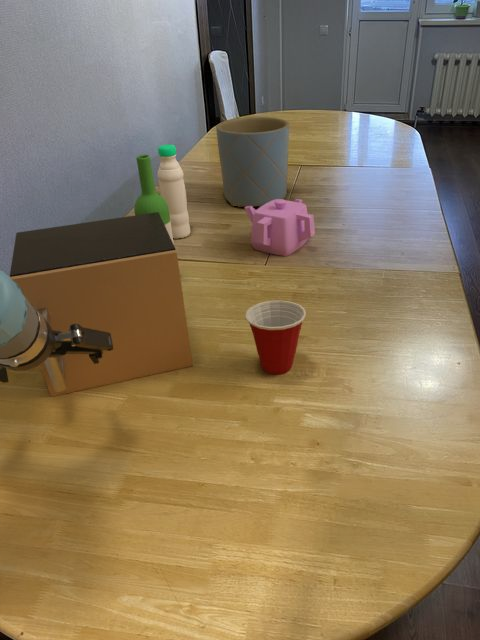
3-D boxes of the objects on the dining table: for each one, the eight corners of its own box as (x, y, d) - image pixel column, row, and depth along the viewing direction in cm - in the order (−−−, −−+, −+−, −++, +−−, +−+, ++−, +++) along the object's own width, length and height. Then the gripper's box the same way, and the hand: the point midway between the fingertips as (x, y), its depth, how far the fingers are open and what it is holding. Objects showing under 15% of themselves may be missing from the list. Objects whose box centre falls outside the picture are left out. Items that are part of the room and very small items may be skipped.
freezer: (191, 362, 100) (175, 248, 86) (51, 393, 94) (9, 275, 80) (174, 317, 114) (158, 211, 100) (51, 340, 108) (16, 232, 94)
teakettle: (258, 261, 136) (256, 215, 128) (244, 236, 149) (242, 193, 142) (320, 252, 139) (321, 207, 131) (300, 228, 152) (301, 187, 145)
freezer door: (200, 387, 94) (185, 269, 80) (50, 422, 87) (5, 301, 74) (191, 363, 100) (175, 249, 86) (51, 393, 94) (9, 276, 80)
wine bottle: (173, 271, 132) (155, 149, 115) (183, 283, 127) (166, 157, 109) (143, 278, 130) (120, 154, 112) (152, 291, 124) (129, 163, 107)
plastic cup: (296, 345, 104) (296, 293, 97) (312, 377, 95) (313, 323, 88) (243, 353, 102) (240, 300, 95) (254, 387, 93) (251, 332, 86)
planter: (291, 209, 165) (291, 131, 151) (220, 212, 165) (213, 134, 152) (287, 186, 184) (287, 115, 170) (223, 188, 184) (218, 118, 170)
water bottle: (195, 234, 151) (185, 145, 137) (176, 241, 147) (164, 150, 133) (180, 228, 155) (168, 141, 141) (161, 235, 151) (147, 146, 137)
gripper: (-99, 389, 57) (-32, 406, 78) (128, 343, 63) (135, 370, 83) (-109, 325, 58) (-40, 358, 79) (115, 285, 64) (126, 326, 85)
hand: (50, 364), depth 81 cm, fingers open, 13 cm apart
